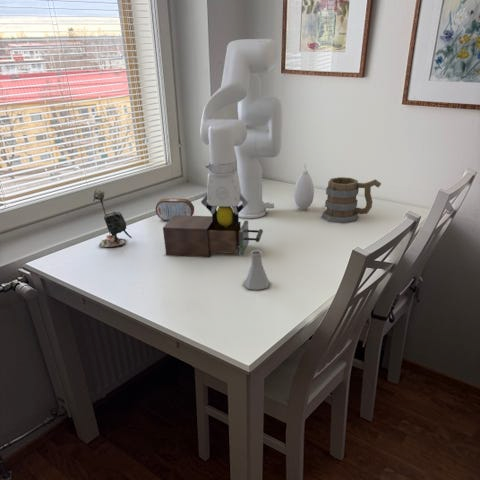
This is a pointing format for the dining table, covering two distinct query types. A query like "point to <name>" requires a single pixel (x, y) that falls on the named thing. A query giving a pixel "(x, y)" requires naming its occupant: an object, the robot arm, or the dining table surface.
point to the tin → (173, 208)
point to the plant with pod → (112, 224)
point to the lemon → (225, 216)
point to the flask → (256, 273)
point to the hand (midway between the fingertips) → (225, 224)
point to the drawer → (230, 238)
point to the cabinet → (187, 236)
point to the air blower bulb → (304, 190)
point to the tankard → (346, 199)
